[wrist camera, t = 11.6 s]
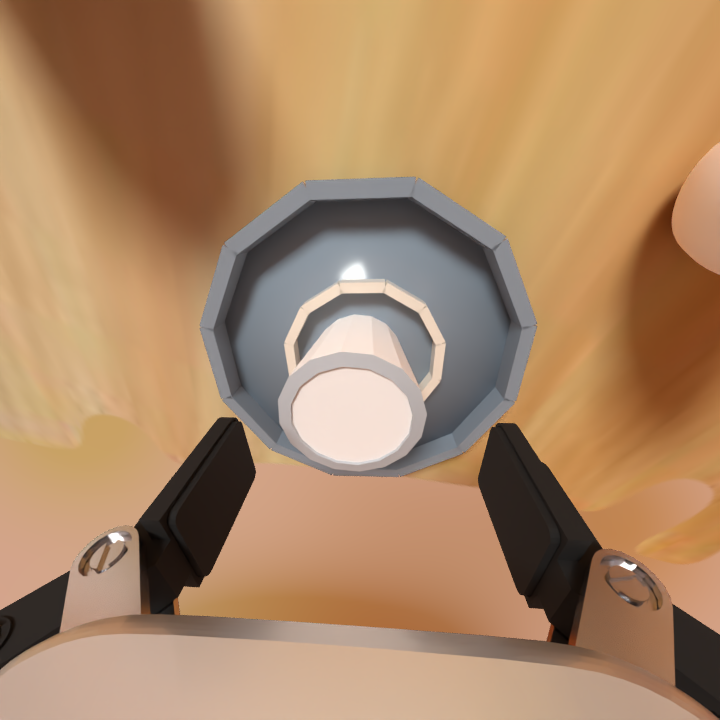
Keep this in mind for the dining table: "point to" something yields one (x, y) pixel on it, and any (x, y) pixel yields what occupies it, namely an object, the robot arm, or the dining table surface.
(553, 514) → the robot arm
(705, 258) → the air blower bulb
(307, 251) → the round tray
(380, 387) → the pale cup
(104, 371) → the dining table surface
